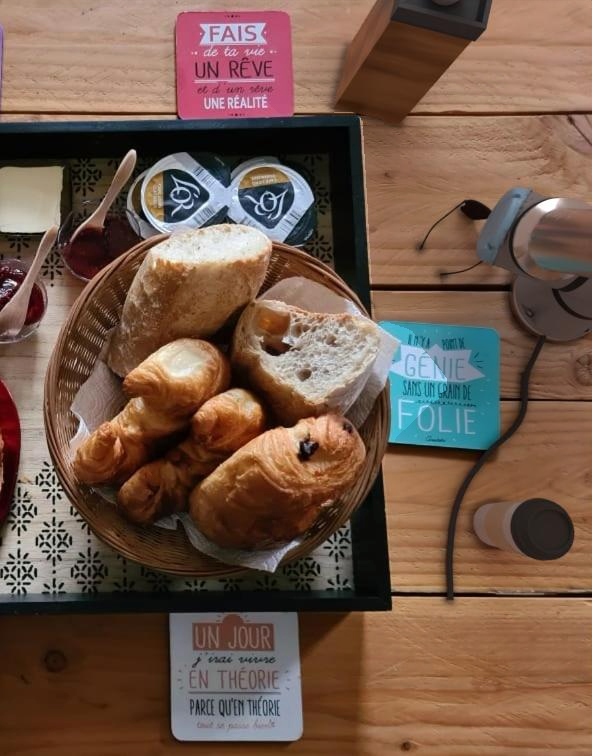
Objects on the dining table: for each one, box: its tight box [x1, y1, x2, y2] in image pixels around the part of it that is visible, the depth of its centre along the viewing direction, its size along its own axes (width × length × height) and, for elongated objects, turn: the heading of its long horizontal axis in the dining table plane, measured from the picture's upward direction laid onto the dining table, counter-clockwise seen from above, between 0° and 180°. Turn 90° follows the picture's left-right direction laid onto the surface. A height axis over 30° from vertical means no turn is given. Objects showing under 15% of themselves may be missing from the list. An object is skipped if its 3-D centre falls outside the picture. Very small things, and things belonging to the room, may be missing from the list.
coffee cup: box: [472, 497, 575, 562], centre depth 112 cm, size 9×9×15 cm
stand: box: [333, 0, 473, 125], centre depth 118 cm, size 12×12×25 cm
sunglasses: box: [419, 199, 493, 276], centre depth 125 cm, size 10×12×5 cm
